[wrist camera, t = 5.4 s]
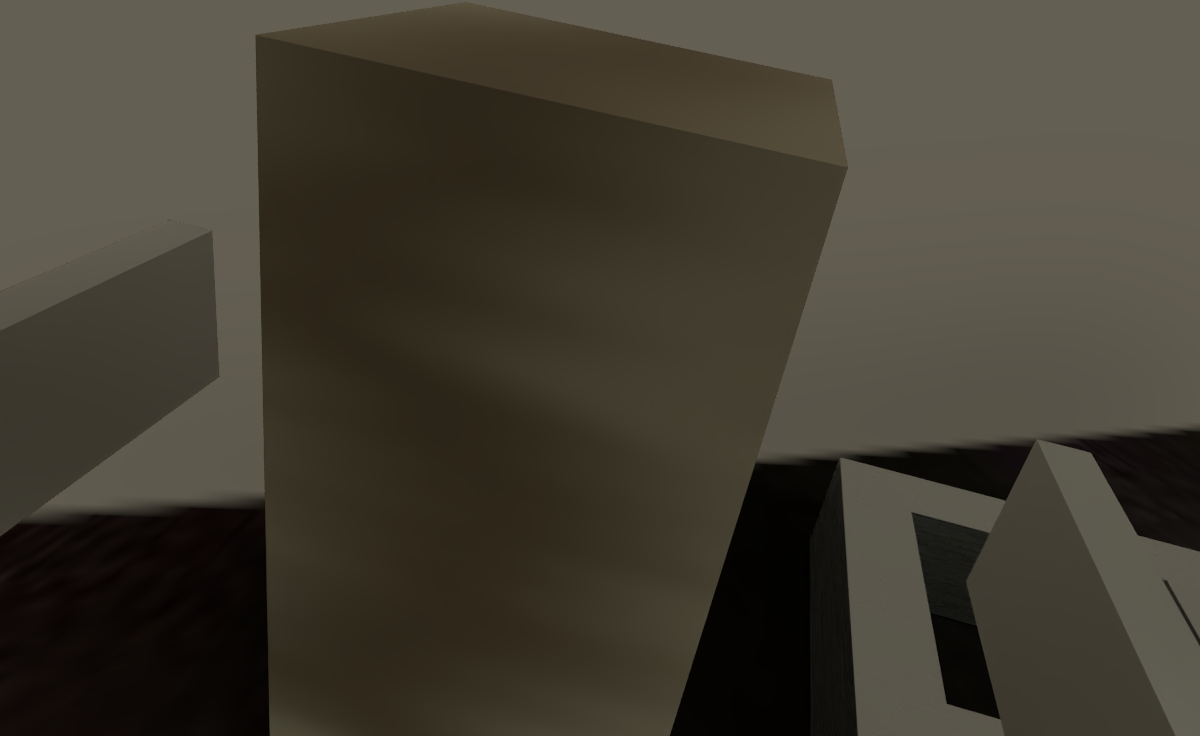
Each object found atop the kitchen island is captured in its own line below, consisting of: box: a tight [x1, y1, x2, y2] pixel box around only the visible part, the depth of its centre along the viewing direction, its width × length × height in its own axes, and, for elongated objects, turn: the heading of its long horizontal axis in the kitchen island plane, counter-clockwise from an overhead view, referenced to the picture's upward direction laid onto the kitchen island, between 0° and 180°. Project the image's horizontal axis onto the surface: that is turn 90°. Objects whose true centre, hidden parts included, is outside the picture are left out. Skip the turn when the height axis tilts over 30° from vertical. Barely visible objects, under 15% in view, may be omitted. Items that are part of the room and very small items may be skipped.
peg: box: [256, 2, 848, 736], centre depth 11 cm, size 4×4×14 cm
